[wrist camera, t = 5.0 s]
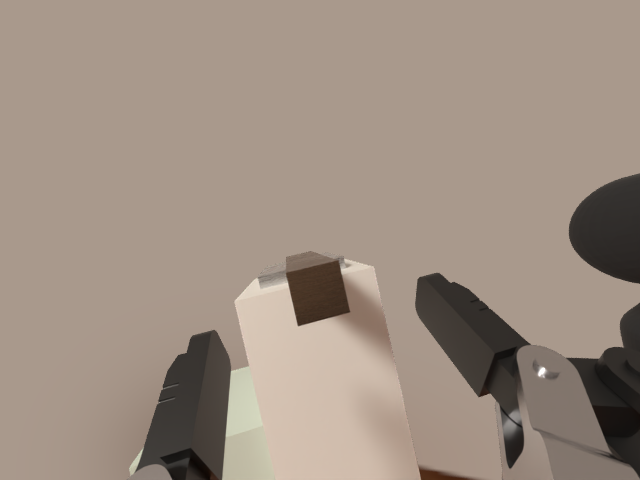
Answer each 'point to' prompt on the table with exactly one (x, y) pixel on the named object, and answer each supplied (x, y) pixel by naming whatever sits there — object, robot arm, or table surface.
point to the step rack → (316, 392)
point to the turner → (311, 285)
